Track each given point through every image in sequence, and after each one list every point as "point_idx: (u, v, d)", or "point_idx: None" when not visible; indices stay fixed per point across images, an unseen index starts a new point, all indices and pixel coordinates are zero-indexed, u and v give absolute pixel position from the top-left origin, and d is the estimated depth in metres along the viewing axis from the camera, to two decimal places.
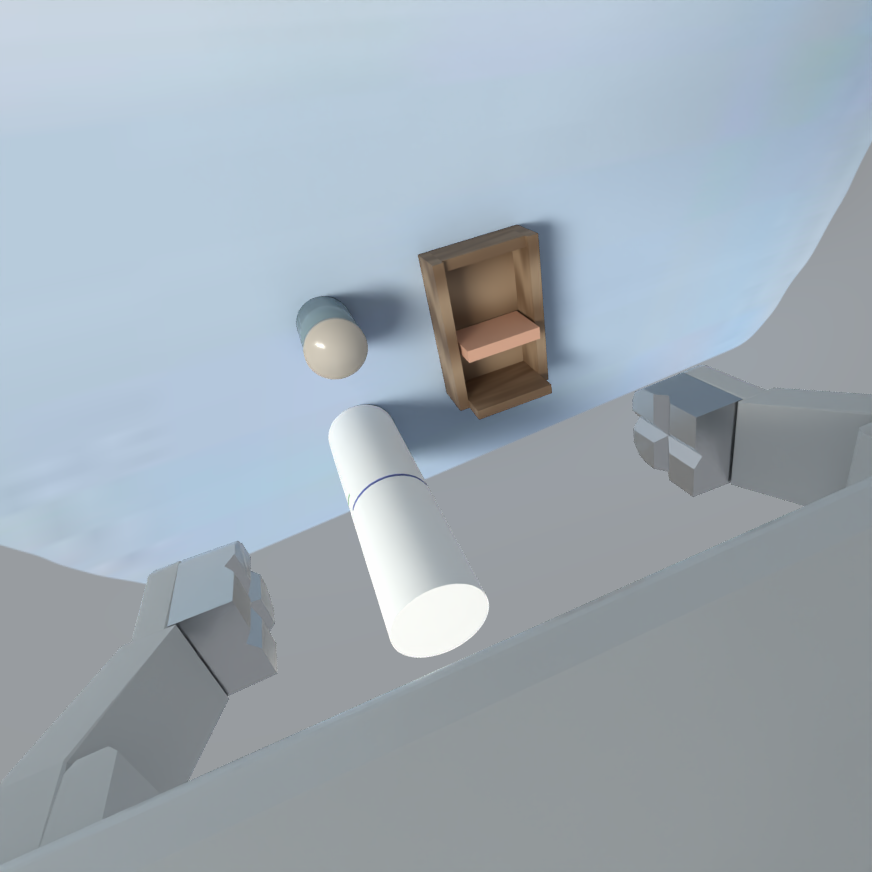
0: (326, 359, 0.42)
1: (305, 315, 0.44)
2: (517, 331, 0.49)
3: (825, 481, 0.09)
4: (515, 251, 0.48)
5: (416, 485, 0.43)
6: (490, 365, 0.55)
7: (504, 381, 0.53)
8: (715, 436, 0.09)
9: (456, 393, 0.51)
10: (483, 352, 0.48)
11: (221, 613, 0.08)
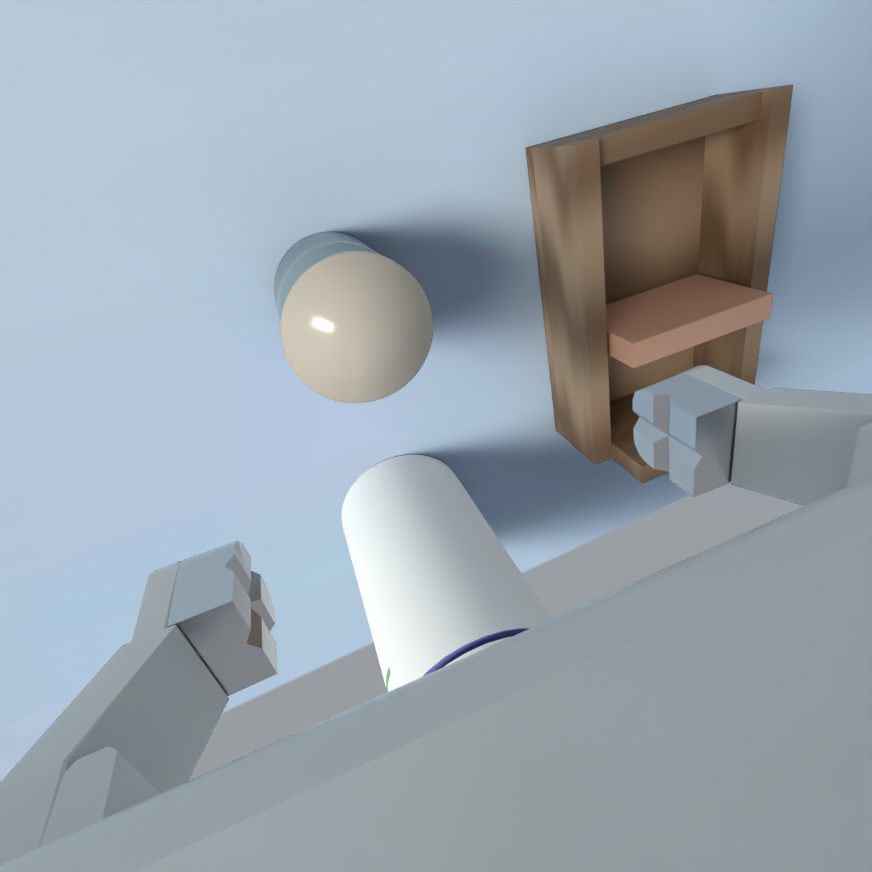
0: (336, 355, 0.18)
1: (290, 263, 0.20)
2: (726, 303, 0.24)
3: (825, 481, 0.09)
4: (715, 146, 0.24)
5: None
6: (637, 378, 0.30)
7: None
8: (715, 436, 0.09)
9: (590, 431, 0.26)
10: (663, 345, 0.23)
11: (220, 613, 0.08)
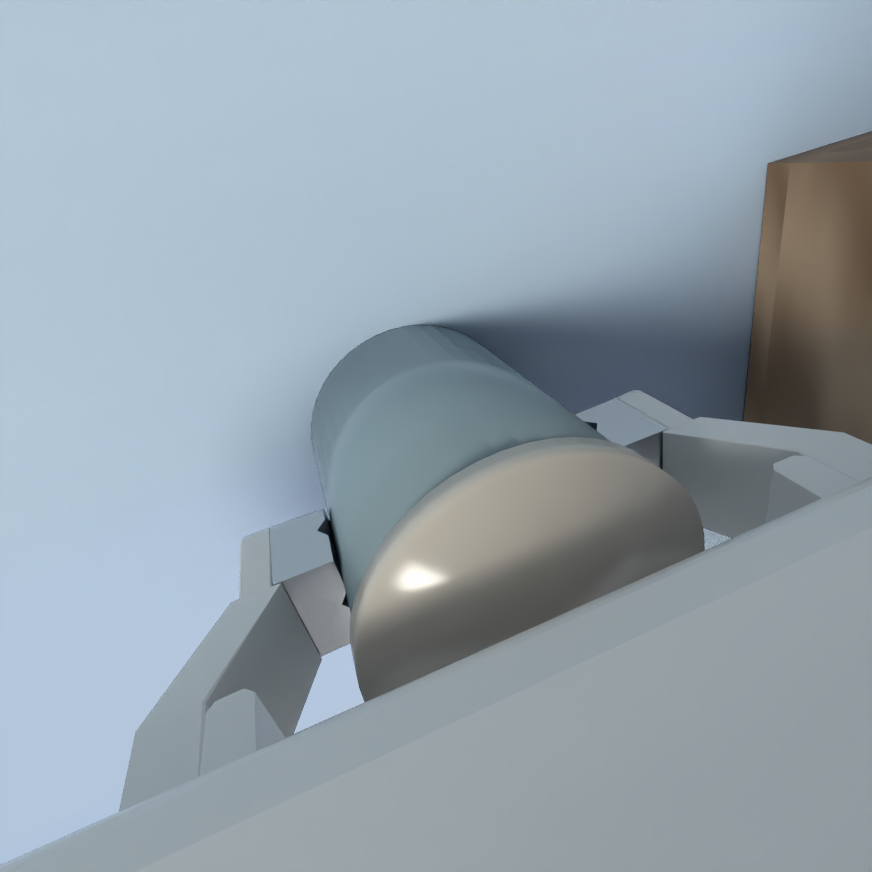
0: None
1: (353, 411, 0.09)
2: None
3: (750, 514, 0.08)
4: None
5: None
6: None
7: None
8: None
9: None
10: None
11: (322, 573, 0.08)
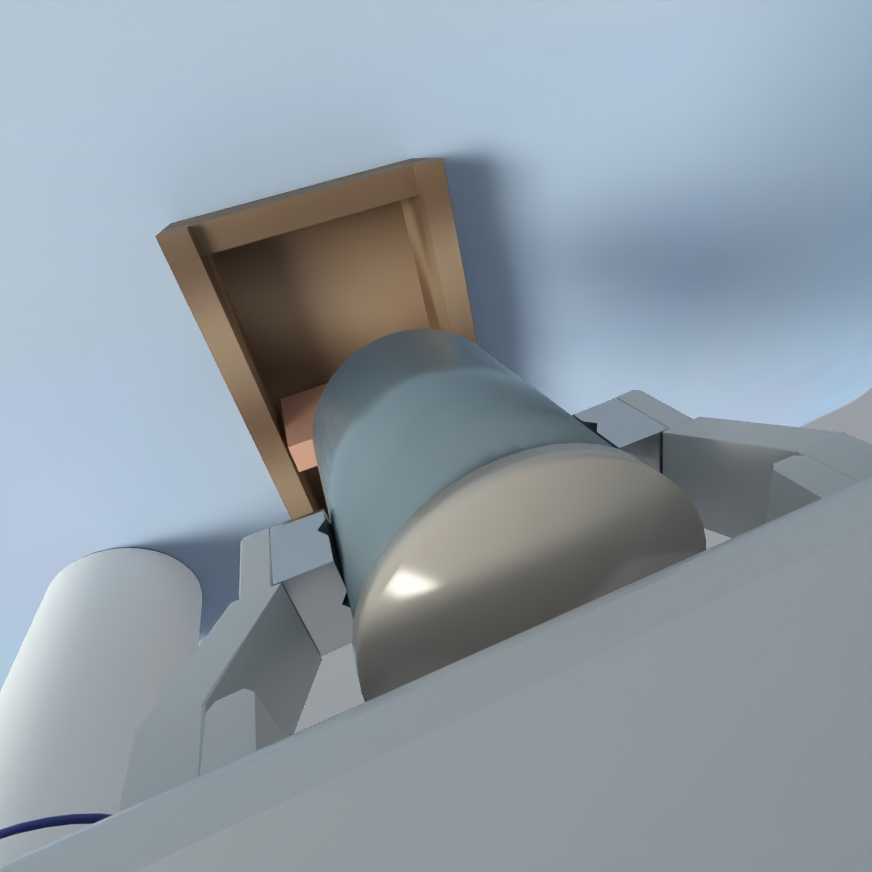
0: None
1: (355, 414, 0.09)
2: None
3: (750, 514, 0.08)
4: (408, 216, 0.21)
5: None
6: None
7: None
8: None
9: None
10: None
11: (322, 572, 0.08)
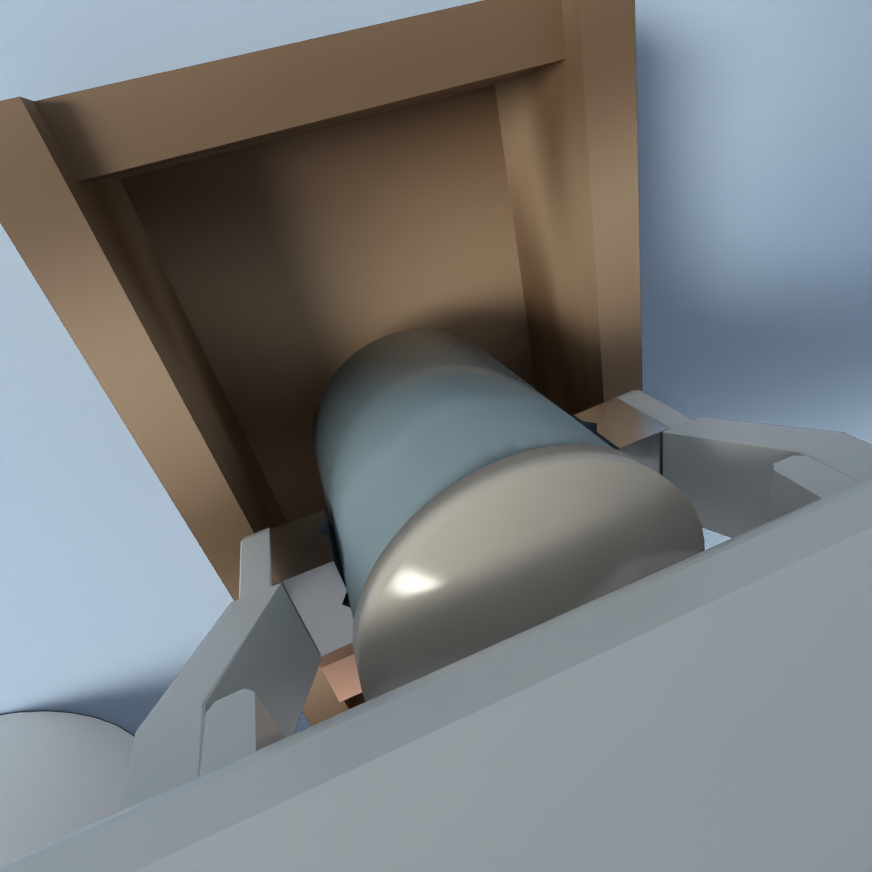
0: None
1: (354, 414, 0.09)
2: None
3: (750, 514, 0.08)
4: (514, 132, 0.11)
5: None
6: None
7: None
8: None
9: None
10: None
11: (321, 572, 0.08)
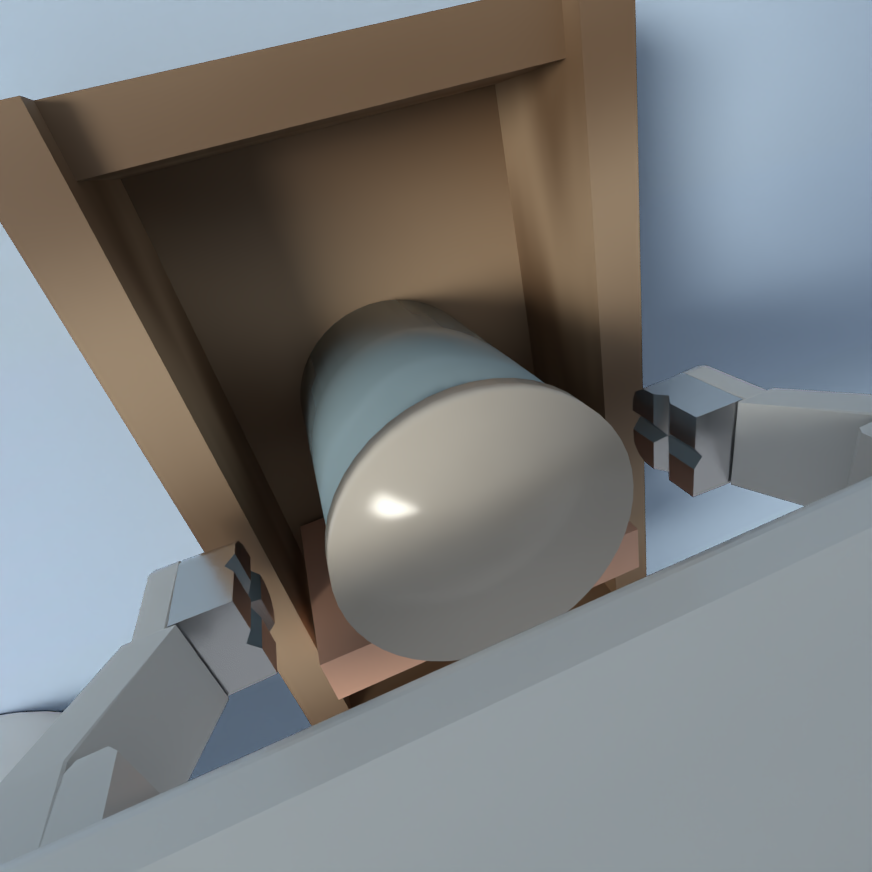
0: (441, 587, 0.08)
1: (334, 370, 0.10)
2: None
3: (825, 481, 0.09)
4: (514, 131, 0.11)
5: None
6: None
7: None
8: (715, 436, 0.09)
9: None
10: None
11: (221, 613, 0.08)
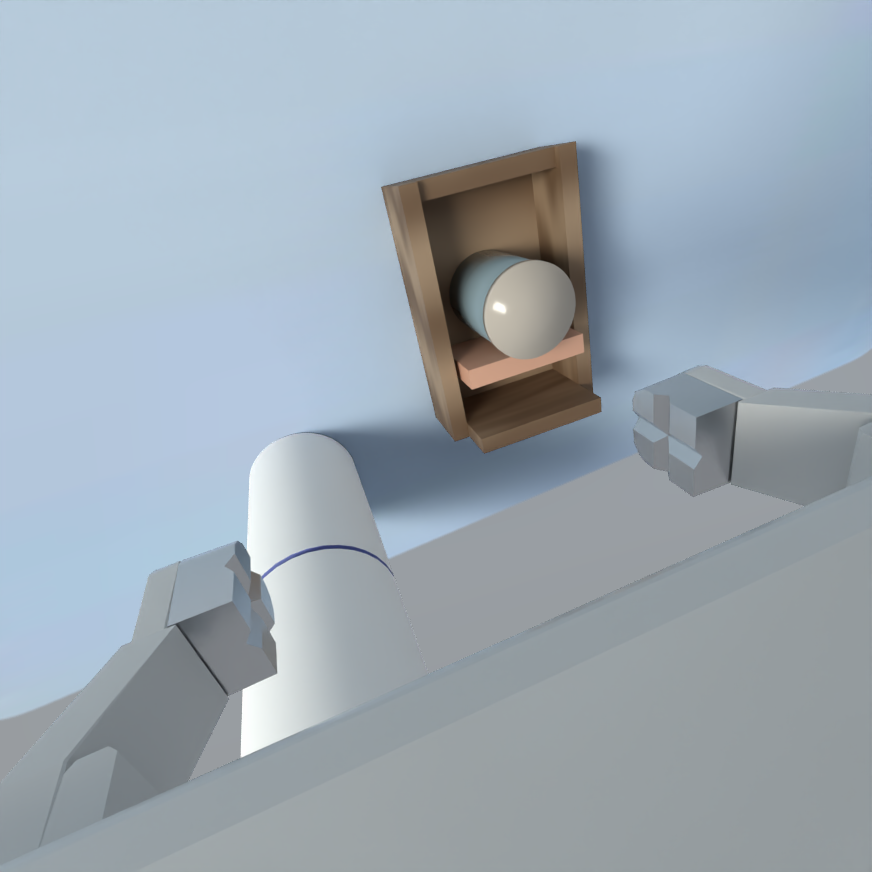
0: (515, 326, 0.27)
1: (474, 268, 0.30)
2: None
3: (825, 481, 0.09)
4: (538, 186, 0.31)
5: (361, 568, 0.22)
6: None
7: (524, 396, 0.34)
8: (715, 436, 0.09)
9: (447, 412, 0.32)
10: (494, 372, 0.30)
11: (221, 612, 0.08)
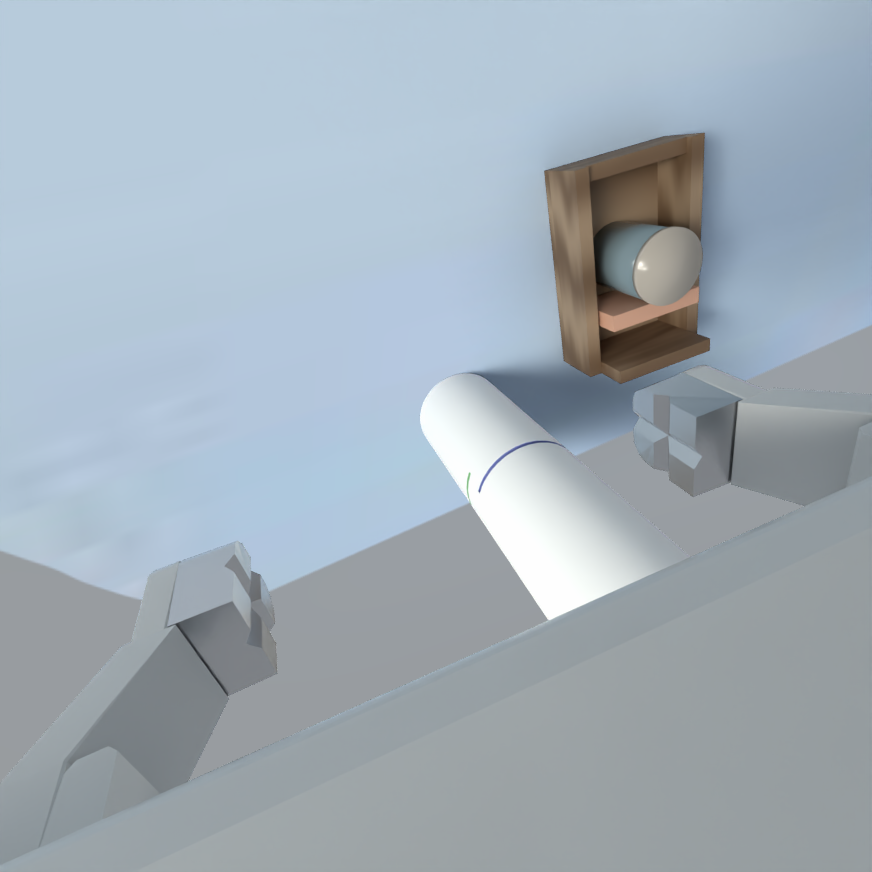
0: (657, 278, 0.35)
1: (616, 234, 0.38)
2: None
3: (825, 481, 0.09)
4: (663, 168, 0.38)
5: (569, 454, 0.31)
6: None
7: (642, 340, 0.42)
8: (715, 436, 0.09)
9: (586, 353, 0.40)
10: (631, 318, 0.38)
11: (221, 613, 0.08)
